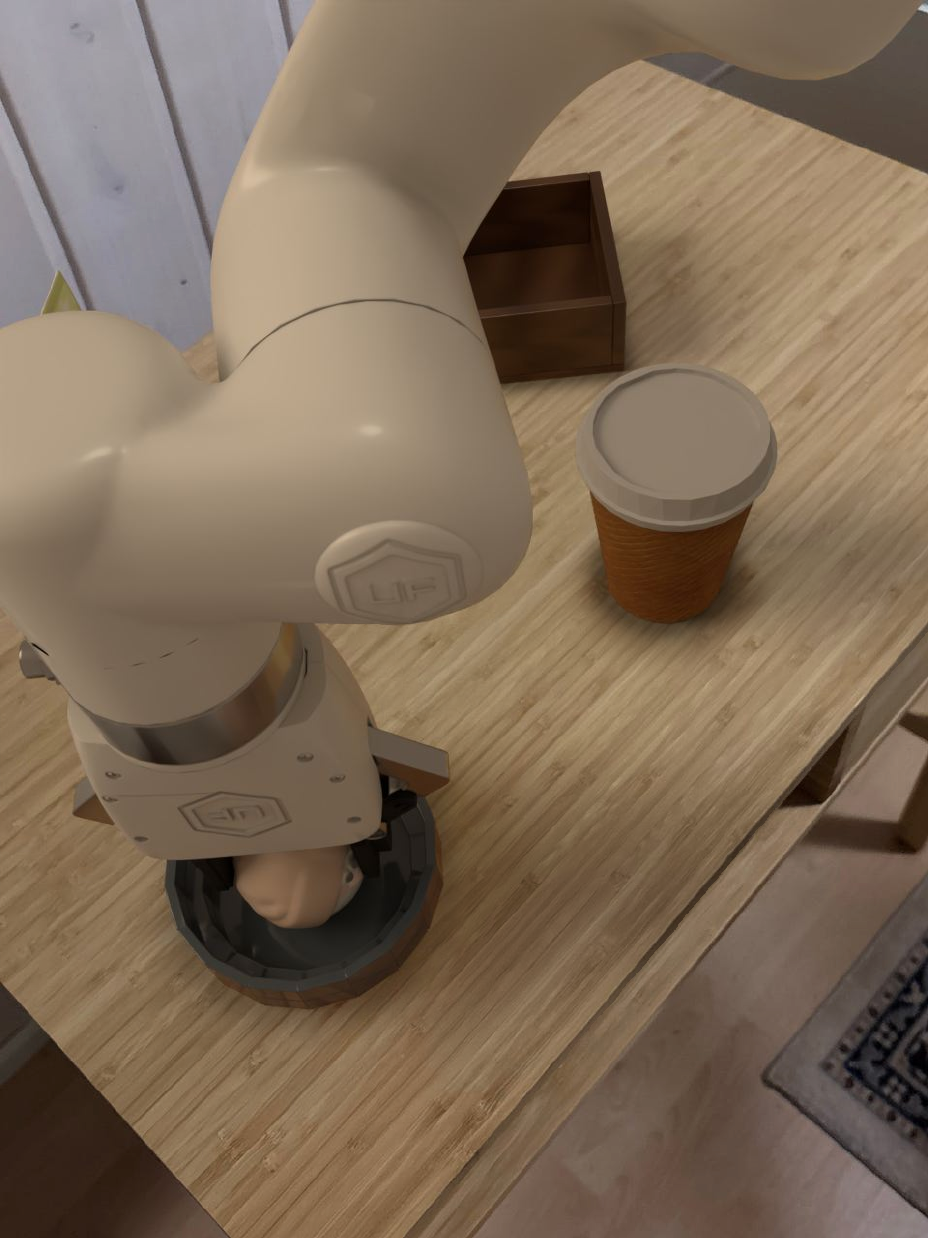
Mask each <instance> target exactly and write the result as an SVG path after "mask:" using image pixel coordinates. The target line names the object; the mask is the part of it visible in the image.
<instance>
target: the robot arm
mask: <svg viewBox="0 0 928 1238" xmlns="http://www.w3.org/2000/svg"><path fill="white" fill-rule="evenodd" d="M925 1H926V0H314V1H313V3H312V5H311V7H310V8H309V10H308V12H307V14H306V15H305V17H304V19H303V22H302V23H301V26H300V28H299V30H298V32H297V34H296V36H295V38H294V40H293V42H292V44H291V46H290V48H289V50H288V52H287V54H286V57H285V58H284V60H283V63H282V65H281V67H280V69H279V72H278V74H277V76H276V79H275V81H274V83H273V84H272V87H271V89H270V92H269V94H268V96H267V98H266V101H265V103H264V105H263V107H262V109H261V111H260V114H259V116H258V118H257V120H256V122H255V124H254V126H253V129H252V131H251V133H250V135H249V138H248V140H247V142H246V144H245V146H244V149H243V151H242V153H241V155H240V158H239V160H238V162H237V164H236V168H235V170H234V172H233V174H232V177H231V179H230V182H229V185H228V187H227V190H226V193H225V196H224V199H223V202H222V205H221V208H220V212H219V215H218V220H217V223H216V226H215V231H214V236H213V243H212V248H211V249H212V250H211V261H210V274H209V286H210V287H209V288H210V302H211V303H210V304H211V313H212V314H211V317H212V328H213V329H212V330H213V339H214V347H215V356H216V357H215V358H216V365H217V373H218V381H219V382H207V381H204V380H203V379H201V378H200V377H199V376H198V374H197V373H196V371H195V369H194V368H193V366H192V365H191V364H190V362H189V361H188V360H187V359H186V358H185V356H184V355H183V353H182V352H181V351H180V350H179V349H178V348H177V347H176V346H175V345H173V344H172V343H171V342H170V341H169V340H168V339H166V338H165V336H163V334H161V333H159V332H158V331H156V330H155V329H153V328H151V327H149V326H147V325H145V324H143V323H141V322H139V321H137V320H135V319H132V318H129V317H126V316H124V315H123V316H122V315H119V314H117V313H113V312H106V311H97V310H82V311H64V312H56V313H48V314H43V315H40V314H39V315H35V316H31V317H27V318H24V319H21V320H19V321H15V322H13V323H10V324H7V325H5V326H3V327H1V328H0V608H1V609H2V611H3V612H4V613H5V615H6V616H7V617H8V619H9V620H10V621H11V623H13V625H14V627H16V628H17V630H18V631H19V632H20V634H21V635H22V636H23V638H24V639H23V641H21V643H20V645H19V649H18V661H19V662H18V663H19V666H20V670H21V673H22V675H23V676H24V677H25V678H26V679H28V680H34V679H43V678H46V679H47V681H51V682H55V683H56V686H61V687H62V688H63V689H64V690H65V691H66V692H67V695H68V701H67V707H66V708H67V709H66V714H67V715H66V716H67V722H68V726H69V729H70V733H71V737H72V740H73V743H74V746H75V749H76V751H77V754H78V757H79V759H80V762H81V764H82V767H83V769H84V771H85V774H86V776H85V777H84V778H83V779H81V780H80V781H79V782H78V783H77V784H76V785H75V790H74V797H73V805H72V811H71V814H72V816H74V817H76V818H79V819H82V820H87V821H90V822H91V821H92V822H96V823H101V824H105V825H109V826H114V825H115V826H116V827H117V829H118V830H119V831H120V833H121V834H122V835H123V837H124V838H125V839H126V840H127V841H128V843H130V844H131V846H133V847H134V848H135V849H136V850H137V851H139V852H140V853H142V855H145V856H147V857H148V858H152V859H156V860H166V861H167V860H189V859H190V860H191V861H192V863H193V864H194V865H195V866H196V868H199V869H200V870H201V872H202V873H203V874H204V876H205V877H206V878H207V879H208V881H209V882H210V883H211V884H212V886H213V887H214V888H215V890H216V891H227V890H229V889H230V887H233V885H234V869H233V863H232V857H233V856H241V855H253V854H264V853H275V852H285V851H296V850H306V849H316V848H325V847H334V846H341V845H347V844H350V847H351V850H352V852H353V854H354V856H355V859H356V861H357V863H358V865H359V867H360V869H361V871H362V874H363V875H367V877H368V878H374V877H379V876H380V852H386V851H392V828H391V821H393V820H394V819H396V818H398V817H400V816H401V815H403V814H405V813H407V812H408V811H410V810H412V809H414V808H415V807H416V806H417V798H419V797H421V796H423V797H425V798H426V797H428V796H430V795H431V794H433V793H435V792H437V791H438V790H440V789H441V788H444V787H445V786H447V785H448V784H450V782H451V776H450V775H451V773H450V772H451V771H450V756H449V755H450V754H449V752H448V751H447V750H445V749H441V748H439V747H436V746H433V745H429V744H426V743H424V742H423V743H422V742H420V741H416V740H414V739H410V738H407V737H405V736H401V735H398V734H395V733H392V732H388V731H386V730H382V729H380V728H378V724H377V722H376V719H375V717H374V714H373V711H372V709H371V707H370V705H369V703H368V700H367V698H366V696H365V694H364V693H363V690H362V689H361V686H360V685H359V682H358V680H357V678H356V677H355V675H354V674H353V672H352V670H351V668H350V667H349V665H348V664H347V662H346V661H345V659H344V658H343V656H342V655H341V654H340V652H339V650H338V649H337V648H336V647H335V645H334V644H333V643H332V641H331V640H330V639H329V638H328V637H327V636H326V634H325V633H324V632H323V631H322V630H321V629H320V628H319V627H318V626H317V624H326V625H327V624H328V625H329V624H330V625H380V626H381V625H384V626H406V625H415V624H420V623H425V622H429V621H433V620H436V619H439V618H442V617H444V616H447V615H451V614H454V613H458V612H460V611H463V610H465V609H468V608H470V607H472V606H475V605H477V604H479V603H480V602H483V601H484V600H486V599H487V598H489V597H490V596H492V595H494V594H495V593H496V592H498V591H499V590H501V588H502V587H503V586H504V585H506V583H507V582H508V581H509V580H510V579H511V578H512V577H513V576H514V575H515V574H516V572H517V571H518V569H519V567H520V566H521V564H522V562H523V561H524V559H525V557H526V555H527V552H528V549H529V546H530V543H531V540H532V539H531V538H532V534H533V528H534V501H533V500H534V499H533V495H532V490H531V489H532V488H531V484H530V478H529V474H528V470H527V467H526V463H525V460H524V455H523V453H522V449H521V446H520V443H519V440H518V437H517V433H516V430H515V427H514V423H513V420H512V417H511V414H510V411H509V407H508V404H507V401H506V397H505V395H504V390H503V388H502V385H501V384H500V382H499V378H498V375H497V372H496V369H495V364H494V361H493V358H492V354H491V351H490V348H489V345H488V342H487V339H486V336H485V333H484V329H483V326H482V323H481V320H480V317H479V313H478V310H477V306H476V303H475V299H474V296H473V292H472V289H471V285H470V281H469V278H468V274H467V270H466V266H465V263H464V260H463V255H464V253H465V251H466V249H467V247H468V245H469V243H470V241H471V240H472V238H473V236H474V234H475V233H476V231H477V229H478V228H479V226H480V224H481V222H482V221H483V219H484V218H485V216H486V215H487V213H488V211H489V210H490V208H491V207H492V205H493V204H494V202H495V201H496V199H497V197H498V196H499V194H500V193H501V191H502V190H503V188H504V186H505V185H506V183H507V182H508V181H510V179H511V177H512V176H513V174H514V173H515V171H516V170H517V168H518V167H519V165H520V164H521V162H522V161H523V159H524V158H525V156H526V155H527V153H528V152H529V151H530V150H531V148H532V147H533V146H534V144H535V143H537V140H538V139H539V138H540V136H541V135H542V134H543V132H544V131H546V129H547V128H548V127H549V126H550V124H551V123H553V121H554V120H555V119H556V118H557V117H558V116H559V115H560V113H561V112H562V111H563V110H564V109H565V108H566V107H567V106H568V105H570V104H571V103H573V101H574V100H575V99H576V98H577V97H579V96H580V95H581V94H582V93H583V92H585V91H586V90H587V89H588V88H589V87H591V86H593V85H594V84H596V83H597V82H599V81H600V80H602V79H604V78H605V77H606V76H608V75H610V74H611V73H613V72H615V71H617V70H619V69H621V68H624V67H626V66H628V65H631V64H633V63H636V62H638V61H641V60H644V59H650V58H653V57H654V58H655V57H658V56H662V55H666V54H667V55H669V54H680V53H681V54H682V53H702V54H706V55H708V56H711V57H713V58H715V59H717V60H720V61H723V62H725V63H728V64H730V65H732V66H734V67H737V68H740V69H742V70H745V71H749V72H751V73H757V74H761V75H764V76H768V77H772V78H776V79H780V80H785V81H786V80H790V81H821V80H824V79H829V78H833V77H837V76H840V75H844V74H848V73H849V72H851V71H852V70H854V69H856V68H858V67H859V66H861V65H863V64H864V63H867V62H868V61H870V60H872V59H873V58H875V57H876V56H877V55H878V54H879V53H880V52H881V51H882V50H883V49H884V48H885V47H886V46H888V45H889V44H890V43H891V42H892V41H893V40H894V39H895V38H896V37H897V36H898V34H899V33H900V32H901V30H902V29H904V27H905V26H906V25H907V24H908V22H909V21H910V20H911V19H912V17H914V15H915V13H917V11H918V10H919V8H921V6H922V5H923V4H924V3H925Z"/></svg>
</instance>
